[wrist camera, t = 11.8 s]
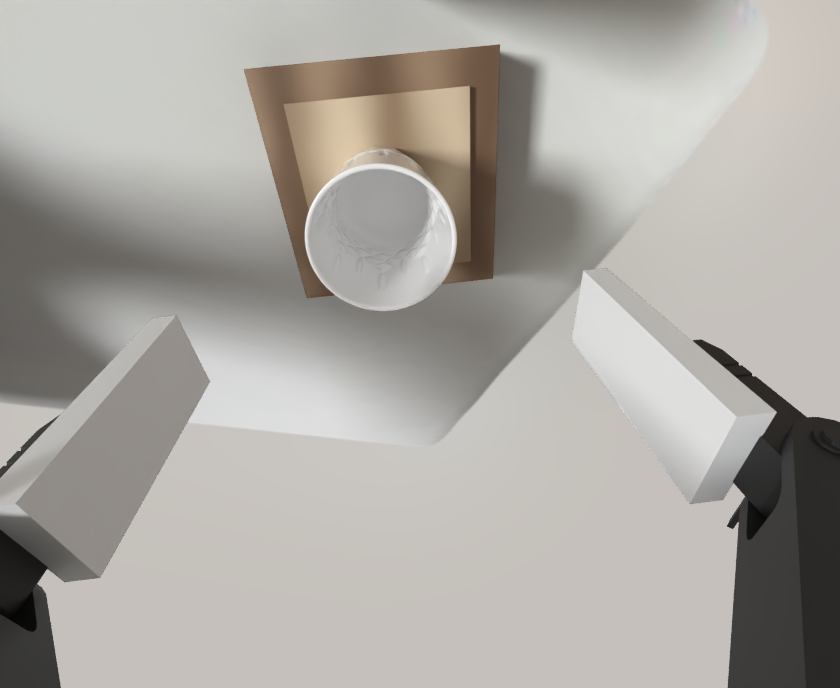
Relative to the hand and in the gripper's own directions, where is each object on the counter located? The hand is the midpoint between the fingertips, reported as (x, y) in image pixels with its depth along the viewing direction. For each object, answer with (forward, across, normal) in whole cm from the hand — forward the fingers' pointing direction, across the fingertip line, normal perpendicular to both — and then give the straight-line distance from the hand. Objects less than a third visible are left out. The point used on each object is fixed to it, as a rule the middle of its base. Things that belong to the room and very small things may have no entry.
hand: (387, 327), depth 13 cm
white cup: (+19, 0, 0) cm, 19 cm away
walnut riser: (+23, 0, 0) cm, 23 cm away
